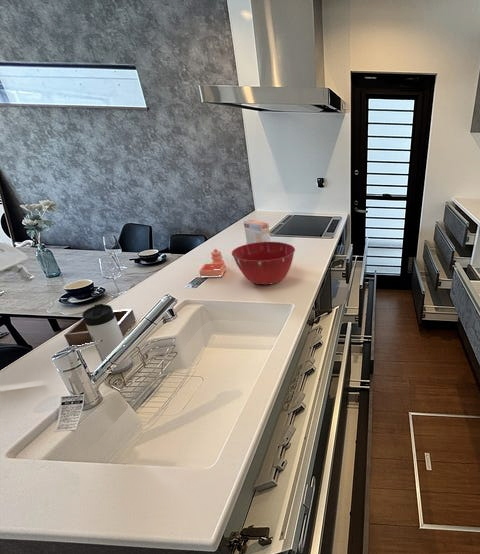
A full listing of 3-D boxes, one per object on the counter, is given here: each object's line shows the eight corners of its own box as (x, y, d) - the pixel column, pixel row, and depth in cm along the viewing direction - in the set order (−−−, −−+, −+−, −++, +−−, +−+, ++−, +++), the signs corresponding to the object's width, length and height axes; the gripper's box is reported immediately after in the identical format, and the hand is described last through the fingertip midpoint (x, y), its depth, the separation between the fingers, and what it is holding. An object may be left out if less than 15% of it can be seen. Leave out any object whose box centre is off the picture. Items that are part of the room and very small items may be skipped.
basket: (69, 347, 98) (64, 334, 96) (92, 325, 110) (87, 313, 107) (119, 342, 101) (114, 329, 99) (136, 320, 113) (132, 309, 111)
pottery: (221, 277, 150) (218, 259, 146) (200, 278, 148) (196, 259, 144) (229, 264, 166) (226, 247, 162) (211, 265, 164) (207, 247, 160)
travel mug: (133, 357, 94) (112, 301, 86) (131, 370, 89) (109, 311, 81) (108, 363, 91) (84, 306, 83) (104, 377, 86) (78, 317, 78)
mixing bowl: (269, 264, 167) (265, 237, 161) (309, 276, 154) (307, 247, 148) (223, 282, 145) (218, 252, 138) (266, 298, 132) (262, 265, 126)
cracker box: (272, 258, 176) (268, 222, 168) (264, 261, 172) (260, 225, 163) (256, 253, 183) (251, 219, 174) (248, 256, 178) (243, 221, 169)
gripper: (-99, 258, 61) (-15, 297, 67) (-7, 230, 79) (53, 263, 85) (-113, 279, 62) (-30, 316, 68) (-19, 247, 80) (40, 279, 86)
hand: (17, 287), depth 77 cm, fingers open, 8 cm apart
